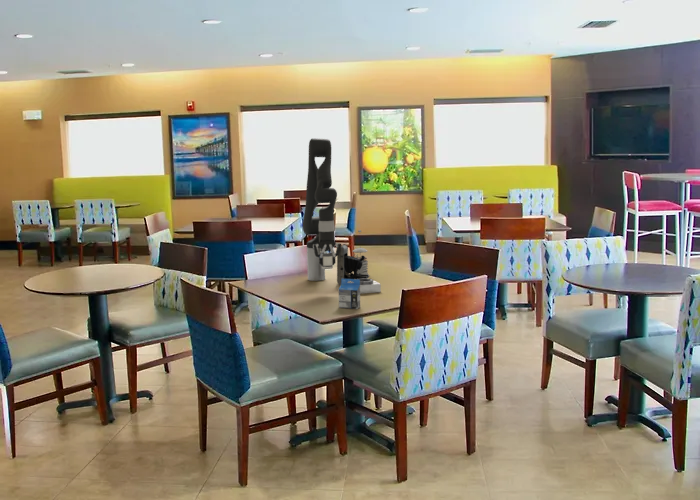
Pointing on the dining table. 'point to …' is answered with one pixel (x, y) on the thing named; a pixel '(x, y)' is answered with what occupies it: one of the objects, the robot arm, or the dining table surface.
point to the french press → (365, 262)
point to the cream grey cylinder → (327, 261)
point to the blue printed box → (349, 294)
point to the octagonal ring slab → (369, 286)
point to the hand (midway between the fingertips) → (327, 264)
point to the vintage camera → (348, 266)
